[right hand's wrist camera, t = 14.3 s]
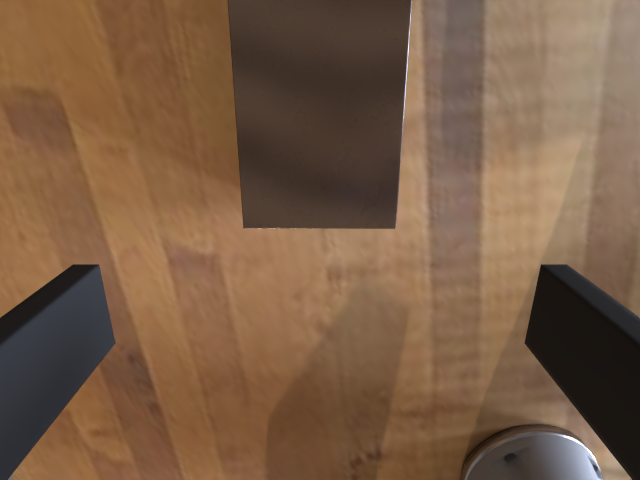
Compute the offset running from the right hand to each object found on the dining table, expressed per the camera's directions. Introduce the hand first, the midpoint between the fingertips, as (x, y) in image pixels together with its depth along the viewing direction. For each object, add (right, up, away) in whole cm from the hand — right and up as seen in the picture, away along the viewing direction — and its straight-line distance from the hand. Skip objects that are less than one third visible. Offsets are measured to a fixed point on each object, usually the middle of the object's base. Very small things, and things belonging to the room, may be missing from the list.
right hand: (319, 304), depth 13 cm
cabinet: (0, +16, +21) cm, 26 cm away
